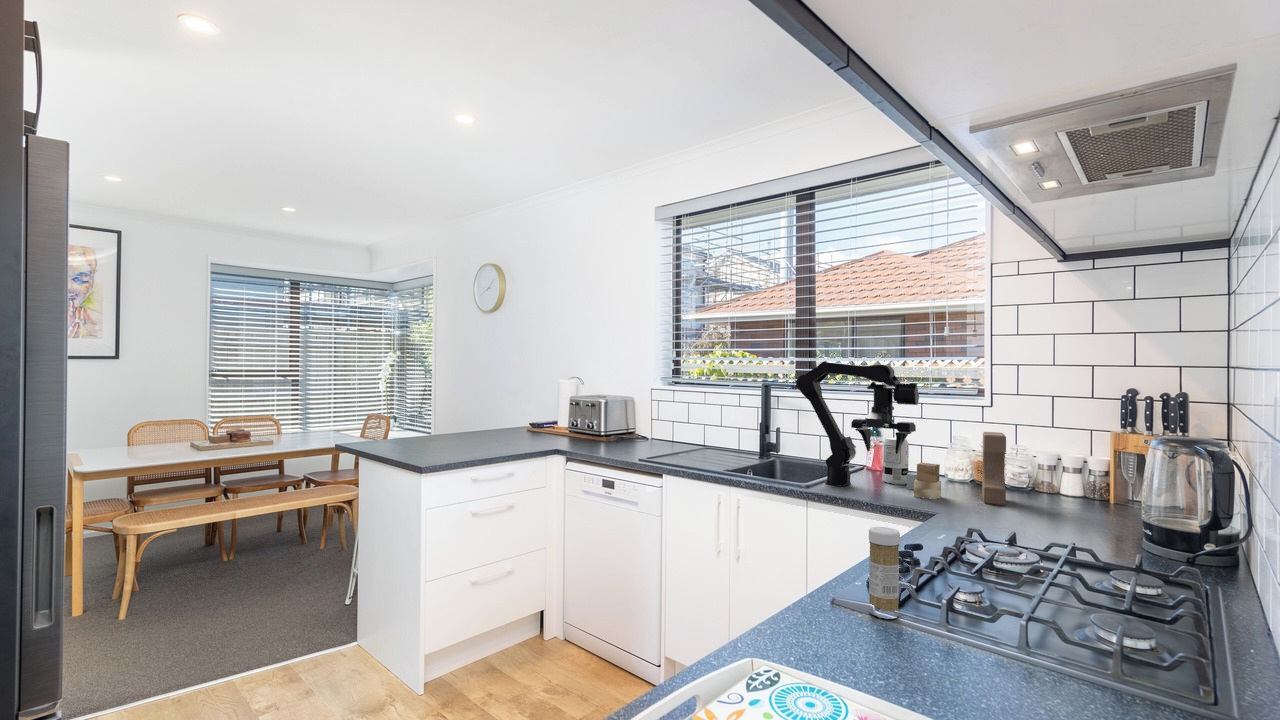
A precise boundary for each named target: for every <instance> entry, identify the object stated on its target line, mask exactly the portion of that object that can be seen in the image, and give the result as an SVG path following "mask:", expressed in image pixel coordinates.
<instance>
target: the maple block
mask: <svg viewBox="0 0 1280 720" xmlns="http://www.w3.org/2000/svg"><path fill="white" fill-rule="evenodd" d="M914 496H918V497H917V498H920V497H924V498H923V499H926V498H931V499H930V500H933V499H935V500H937V499H939V498H941V497H942V480H939V481H938V482H935V483H931V482H923V481H917V480H914V490H913V497H914ZM938 497H939V498H938ZM936 498H937V499H936Z"/></svg>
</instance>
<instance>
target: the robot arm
mask: <svg viewBox="0 0 1280 720" xmlns="http://www.w3.org/2000/svg"><path fill="white" fill-rule="evenodd" d="M830 374H834V375H836V374H837V375H842V376H852V377H853V376H854V377H861V378H864V379H867V380H870V381H872V382H871V383H870V384H868V386H867V387H866V389H867V390H873V405H872V407H871V411H870V413H868V414H867V415H866V416H865V418H853V419H852V420H851V425H850V426H851V429H855V431H856V432H858V433H859V434H860V436H861V437H862V440H863V443H864V445H865V446H864V447H865V449H866V451H868V452H870V451H871V437H872V432H871V431H872V429H871V428H874V429H891V430H897V432H894V433H895V438H896V454H898V453H899V451H900V449H901V446H902V444H903V442H904V440H905V439H907V437H908V435H911V434H912V433H914V432H916V428H917V426H916V424H915V422H914V421H913V422H910V421H898V422H895V420H894V419H893V411H894V410H895V407H894V406H893V405H894V404H893V403H894V402H896V403H897V404H898V405H909V406H917V405H919V400H920V393H919V388H918V383H917V382H916V383H911V382H910V383H901V382H900V380H899V379H898V377H897V376H896V375H895V370H894V368H893V367H892V366H891V365H889V364H871V365H869V364H867V365H857V364H849V363H839V362H831V361H824V360H823V361H821V362H820V363H819V364H818V365H817V366H816V367H814V368H812V369H811V370H810V371H807V373H805V374H800V376H798V377H797V380H796V384H795V385H796V387H797V388H798V390H799V392H800V393H801V395H802V396H804V398H806V399H807V400H808V401H809V402H810V404H811V406H812V408H813V410H814V412H815V414H816V417H817V418H818V420H819V422H820V423H821V426H822V427H823V430H824V432H825V433H826V436H827V437H828V440H829V441H828V442H829V447H830V451H831V455H830V456H829V457H828V458H826V459H825V464H826V466H827V468H826V469H827V472H826V475H827V476H826V481H825V482H824V484H826V485H831V486H839V487H844V486H845V487H846V486H849V485H851V484H852V482H851V470H850V466H849V465H850V463H851V461H852V460H854V459H855V457H856V454H857V451H856V448H857V446H856V445H855V444H854V442H853V440H852V438H851V436H845V435H844V434H843V433H842V431H841V429H840V428H839V426H838V423H837V422H836V420H835V418H834V416H833V414H832V413H831V411H830V408H829V406H828V404H827V402H826V400H825V399H824V397H823V392H822V387H821V384H820V383H821V382H823V381H824V380H825V378H827V377H828V375H830ZM877 383H879V384H877ZM887 386H889V387H887Z"/></svg>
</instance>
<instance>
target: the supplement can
mask: <svg viewBox="0 0 1280 720" xmlns="http://www.w3.org/2000/svg"><path fill="white" fill-rule="evenodd" d="M909 446H910V445H909V441H908V440H907V438H905V440H904V442H903V444H902V446H901V449H900V451H899V453H898V454H896V437H894V436H893V437H891V436H889V437H884V439H883V441H882V469H881V470H882V474H881V475H882V478H881V479H882V481H883V482H884V483H885V482H887V483H886V484H889V483H892V484H891V485H907V473H908V472H909Z"/></svg>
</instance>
